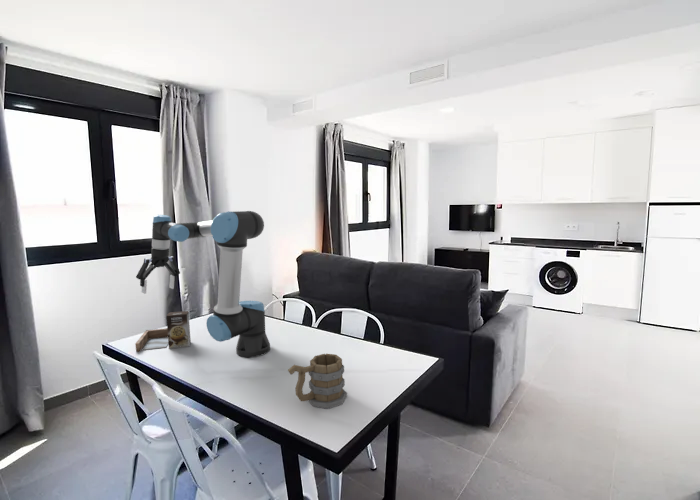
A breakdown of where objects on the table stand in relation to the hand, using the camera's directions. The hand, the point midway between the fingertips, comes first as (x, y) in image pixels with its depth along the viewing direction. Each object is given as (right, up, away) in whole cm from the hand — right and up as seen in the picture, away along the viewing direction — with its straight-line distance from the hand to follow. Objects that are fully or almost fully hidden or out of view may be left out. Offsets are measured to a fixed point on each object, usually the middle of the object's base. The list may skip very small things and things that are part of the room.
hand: (158, 290), depth 177 cm
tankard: (+82, -32, -53) cm, 102 cm away
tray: (-3, -26, +3) cm, 27 cm away
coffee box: (+11, -27, 0) cm, 29 cm away
